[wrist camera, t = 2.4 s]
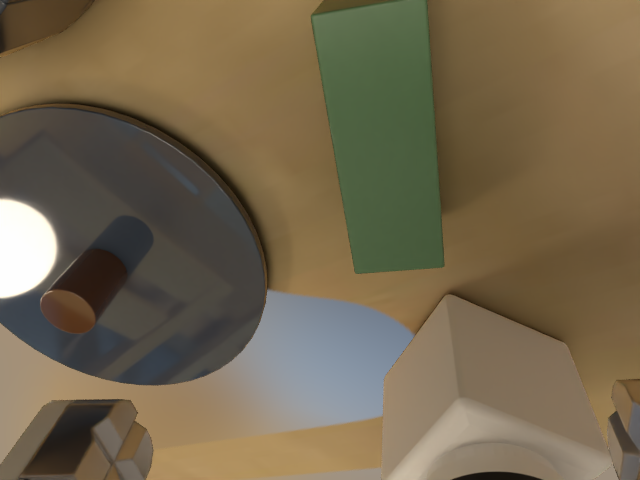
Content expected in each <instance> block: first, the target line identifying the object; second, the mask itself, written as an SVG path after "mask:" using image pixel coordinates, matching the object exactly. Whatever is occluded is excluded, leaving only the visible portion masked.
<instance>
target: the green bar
mask: <svg viewBox="0 0 640 480" xmlns="http://www.w3.org/2000/svg"><path fill="white" fill-rule="evenodd" d="M311 22H312V28H313V34H314V39H315V45H316V51H317V57H318V62H319V68H320V74H321V80H322V86H323V91H324V97H325V103H326V109H327V115H328V120H329V126H330V132H331V138H332V143H333V149H334V155H335V161H336V167H337V172H338V178H339V184H340V190H341V195H342V201H343V207H344V213H345V219H346V224H347V230H348V236H349V242H350V247H351V253H352V259H353V265H354V271H355V273H356V274H361V273H375V272H389V271H402V270H416V269H430V268H443V267H444V265H445V263H444V248H443V232H442V217H441V202H440V187H439V171H438V156H437V141H436V126H435V111H434V95H433V80H432V65H431V50H430V34H429V19H428V4H427V0H324V1H323V2H322V3H321V4H320V5H319V6H318V8H317V9H316V10H315V11H314V12H313V14H312V15H311Z"/></svg>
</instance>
